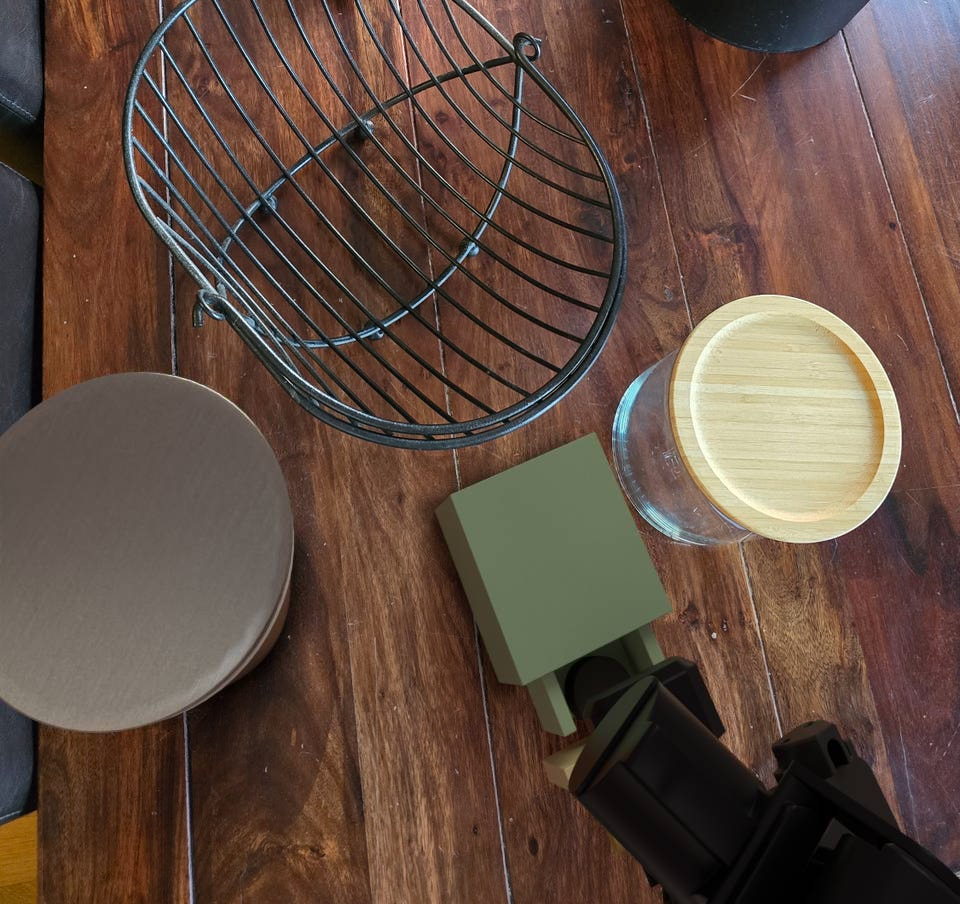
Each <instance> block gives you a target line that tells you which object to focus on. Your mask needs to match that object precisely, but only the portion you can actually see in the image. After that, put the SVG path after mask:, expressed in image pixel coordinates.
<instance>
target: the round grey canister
mask: <svg viewBox="0 0 960 904" xmlns="http://www.w3.org/2000/svg"><path fill="white" fill-rule="evenodd" d="M294 531H295V530H294V521H293V514H292V507H291V501H290V496H289V491H288V486H287V482H286V479H285V476H284V473H283V470H282V467H281V465H280V462H279V460H278V458H277V455H276V453H275V451H274V450H273V448H272V446H271V445H270V443H269V440H268V439H267V438H266V436H265V435H264V433H263V432H262V431H261V429H260V428H259V426H258V425H257V424H256V422H254V421H253V420H252V419H251V417H250V416H249V415H248V414H247V413H246V412H245V411H244V410H242V409H241V408H240V407H239V406H238V405H237V404H236V403H235V402H233V401H232V400H231V399H229V398H228V397H226V396H225V395H223V394H222V393H221V392H218V391H216V390H215V389H213V388H211V387H209V386H207V385H205V384H202V383H201V382H198V381H196V380H192V379H190V378H186V377H183V376H180V375H176V374H171V373H163V372H156V371H125V372H117V373H111V374H106V375H102V376H98V377H94V378H91V379H88V380H85V381H82V382H79V383H75V384H74V385H71V386H70V387H67V388H64V389H63V390H61V391H58V392H57V393H55V394H53V395H52V396H50V397H48V398H46V399H45V400H43V401H41V402H40V403H38V404H37V405H36V406H34V407H33V408H31V409H30V410H28V411H27V412H26V413H25V414H24V415H22V416H21V417H20V418H19V419H18V420H17V421H16V422H14V423H13V424H12V425H11V426H10V427H9V428H8V429H7V430H6V431H5V432H4V433H3V434H2V435H1V436H0V700H1V701H2V702H4V703H5V704H6V705H7V706H8V707H10V708H11V709H13V710H14V711H16V712H18V713H20V714H21V715H23V716H25V717H27V718H29V719H30V720H33V721H35V722H38V723H40V724H43V725H45V726H48V727H52V728H56V729H60V730H63V731H70V732H75V733H83V734H106V733H108V734H109V733H118V732H125V731H130V730H134V729H135V730H136V729H139V728H143V727H146V726H150V725H153V724H156V723H160V722H163V721H166V720H168V719H171V718H174V717H176V716H179V715H181V714H183V713H185V712H187V711H190V710H191V709H194V708H195V707H197V706H199V705H201V704H202V703H204V702H205V701H207V700H208V699H211V697H213V696H214V695H216V694H217V693H219V692H220V691H222V690H224V689H225V688H227V687H229V686H230V685H232V684H234V683H236V682H237V681H240V679H242V678H244V677H245V676H247V675H248V674H249V673H251V672H252V671H253V670H255V669H256V668H257V667H258V666H259V665H260V664H261V663H262V662H263V661H264V660H265V659H266V657H267V656H269V654H270V652H271V650H273V648H274V646H275V645H276V643H277V641H278V639H279V638H280V636H281V633H282V632H283V629H284V627H285V624H286V621H287V616H288V613H289V610H290V609H289V608H290V601H291V583H292V582H291V581H292V570H293V562H294V551H295V532H294Z"/></svg>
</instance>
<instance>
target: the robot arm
mask: <svg viewBox="0 0 960 904" xmlns="http://www.w3.org/2000/svg"><path fill="white" fill-rule="evenodd" d="M583 719H584V721H585V723H584V724H585V726H586V728H587V731H588V735H590V736H591V737H590V739H589V740H588V742H587V743H586V745H585V746H584V748H583V750H582V752H581V754H580V755H579V757H578V759H577V761H576V763H575V765H574V768H573V770H572V772H571V775H570V778H569V782H568V789H569V791H568V792H569V793H570V794H571V795H572V796H573V797H574V798H575V799H576V800H577V801H578V802H579V803H580V804H581V805H582V806H583V807H584V808H585V809H586V811H588V813H589V814H590V815H591V816H592V817H593V818H594V819H595V820H597V822H598V823H599V824H600V825H601V826H602V827H603V828H604V829H605V831H606V830H607V831H608V832H609V833H610V834H611V835H612V836H613V837H614V838H615V839H616V840H617V841H618V842H619V843H620V844H621V845H622V846H623V847H624V848H625V849H626V850H625V851H626V852H627V853H629V855H630V856H631V857H632V858H633V859H634V860H635V861H636V862H637V863H638V864H639V865H640V866H641V868H642V870H643V873H644V875H645V878H646V880H647V883H648V885H649V887H650V888H651V889H652V888H654V887H656V886H658V885H660V887H661V895H662V904H960V877H959V876H958V875H957V874H955V872H953V870H952V869H950V868H949V867H948V866H947V865H946V864H945V863H944V862H943V861H941V860H940V859H939V858H938V857H936V856H935V854H933V853H932V852H930V851H929V850H928V849H927V848H926V847H924V846H923V845H921V844H920V843H918V842H917V841H916V840H914V839H913V838H911V837H910V836H909V835H907V834H906V833H904V832H903V831H902V830H901V828H900V825H899V824H898V821H897V819H896V818H895V815H894V813H893V810H892V809H891V807H890V805H889V803H888V800H887V798H886V796H885V794H884V792H883V790H882V788H881V786H880V784H879V782H878V780H877V778H876V776H875V773H874V772H873V770H872V767H871V766H870V765H869V763H868V761H866V760H865V759H864V758H862V757H861V756H859V754H858V751H857V750H856V748H855V746H854V743H853V742H852V740H851V738H850V737H848V738H842V735H841V733H840V731H839V729H838V727H837V725H836V724H835V723H834V722H831V721H827V720H825V719H816V720H811V721H806V722H803V723H801V724H798V725H797V726H795V727H793V729H791V730H790V731H788V732H787V733H785V734H784V735H783V736H781V737H780V738H778V739H777V740H775V742H773V743H772V744H771V751H772V754H773V756H774V759H775V760H776V764H777V768H776V769H775V770H774V771H773V772H772V775H773V777H774V780H775V781H776V785H774V786H773V787H771V788H769V789H768V788H767V786H766V784H765V783H764V782H763V781H762V780H761V779H760V778H758V776H757V775H756V774H755V773H754V772H753V771H752V770H751V769H750V768H748V767H747V765H746V764H745V763H743V761H741V760H740V759H739V758H738V757H737V756H736V755H735V754H734V752H732V751H731V750H730V749H729V748H728V747H727V746H726V745H725V744H724V743H723V742H722V741H721V740H720V738H721V737H722V736H723V735H724V734H725V733H726V732H727V730H726V728H725V726H724V723H723V721H722V719H721V716H720V714H719V712H718V709H717V708H716V705H715V703H714V701H713V698H712V696H711V694H710V692H709V689H708V687H707V685H706V682H705V680H704V678H703V675H702V674H701V671H700V669H699V666H698V664H697V662H695V661H692V660H691V659H688V658H685V657H683V656H679V655H678V656H676V655H675V656H672V655H671V656H669V657H667V658H665V660H663V661H661V662H659V663H657V664H655V665H653V666H652V667H650V668H648V669H646V670H644V671H642V672H640V673H638V674H636V675H634V676H632V677H630V678H628V679H626V680H625V681H623V682H621V683H619V684H617V685H615V686H613V687H611V688H609V689H607V690H605V691H603V692H601V693H599V694H598V695H596V696H594V697H592V698H590V699H588V700H587V703H586V706H585V709H584V713H583ZM607 831H606V832H607Z"/></svg>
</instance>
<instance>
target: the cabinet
mask: <svg viewBox="0 0 960 904" xmlns="http://www.w3.org/2000/svg"><path fill="white" fill-rule="evenodd" d="M434 513H435V515H436V518H437V521H438V524H439V526H440V528H441V531H442V534H443V536H444V539H445V542H446V544H447V545H446V546H447V547H448V550H449V552H450V555H451V558H452V561H453V563H454V566H455V568H456V571H457V573H458V577H459V579H460V582H461V585H462V588H463V590H464V592H465V596H466V598H467V601H468V604H469V606H470V608H471V611H472V614H473V616H474V620H475V622H476V625H477V627H478V630H479V633H480V635H481V638H482V641H483V643H484V646H485V649H486V651H487V655H488V657H489V660H490V663H491V664H492V665H491V666H492V668H493V670H494V673H495V676H496V678H497V681H498V682H499V683H501V684H508V685H515V686H521V687H525V686H527V685H526V684H528V683H530V682H532V681H534V680H536V679H538V678H540V677H542V676H544V675H546V674H548V673H550V672H552V671H554V670H556V669H558V668H560V667H562V666H564V665H566V664H568V663H570V662H572V661H574V660H576V659H578V658H580V657H582V656H584V655H586V654H588V653H590V652H592V651H594V650H596V649H598V648H600V647H602V646H604V645H606V644H608V643H610V642H612V641H614V640H616V639H618V638H620V637H622V636H624V635H626V634H628V633H630V632H632V631H634V630H636V629H638V628H640V627H642V626H644V625H646V624H648V623H652V622H654V621H656V620H659V619H660V618H662V617H664V616H666V615H668V614H670V613H672V612H673V611H674V608H673V606H672V604H671V601H670V600H669V597H668V595H667V592H666V591H665V588H664V585H663V584H662V583H663V582H662V581H661V578H660V577H659V574H658V572H657V570H656V567H655V565H654V563H653V560H652V559H651V555H650V554H649V551H648V549H647V547H646V544H645V541H644V540H643V538H642V536H641V534H640V532H639V529H638V527H637V524H636V522H635V520H634V518H633V517H634V516H633V515H632V513H631V511H630V508H629V506H628V503H627V502H626V499H625V497H624V494H623V493H622V490H621V487H620V485H619V483H618V481H617V478H616V477H615V474H614V471H613V469H612V467H611V465H610V463H609V460H608V459H607V456H606V453H605V451H604V448H603V447H602V445H601V443H600V440H599V438H598V436H597V433H596V432H595V431H593V432H591V433H589V434H586V435H584V436H582V437H579V438H577V439H575V440H573V441H569V442H568V443H565V444H563V445H561V446H559V447H556V448H555V449H552V450H549V451H547V452H545V453H542V454H541V455H538V456H536V457H534V458H531V459H528V460H527V461H524V462H522V463H519V464H517V465H515V466H512V467H511V468H508V469H506V470H504V471H502V472H499V473H497V474H494V475H492V476H490V477H488V478H486V479H483V480H481V481H478V482H476V483H474V484H472V485H469V486H467V487H464V488H463V489H460V490H458V491H456V492H453V493H451V494H449V495H448V496H447V498H445V499H444V500H443V502H441V504H439V505H438V506H437V507H436V509H435V510H434Z"/></svg>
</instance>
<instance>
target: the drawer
mask: <svg viewBox="0 0 960 904" xmlns="http://www.w3.org/2000/svg"><path fill="white" fill-rule="evenodd" d="M650 623H651V622H650ZM650 623H648V624H646V625H644V626H642V627H640V628H638V629H636V630H634V631H632V632H630V633H628V634H626V635H624V636H622V637H620V638H618V639H616V640H614V641H612V642H610V643H608V644H606V645H604V646H602V647H600V648H598V649H596V650H594V651H592V652H590V653H588V654H586V655H584V656H582V657H580V658H578V659H576V660H574V661H572V662H570V663H568V664H566V665H564V666H562V667H560V668H558V669H556V670H554V671H552V672H550V673H548V674H546V675H544V676H542V677H540V678H538V679H536V680H534V681H532V682H530V683H528V684H526V685H525V686H526V688H527V691H528V693H529V695H530V699H531V701H532V704H533V706H534V709H535V711H536V714H537V716H538V720H539V722H540V724H541V727H542V730H543V731H544V732H547V733H551V734H554V735H557V736H561V737H564V738H566V737H567V736H570V735H572V734H573V733H576V732H577V727H576V724H575V722H574V719H575V718H576V717H575V716H574V714H573V713H572V712H571V710H570V709H569V707H568V705H567V702H566V698H565V692H564V686H565V680H566V676H567V674H568V672H569V670H570V668H571V667H572V666H573V665H574V664H575V663H576V662H577V661H578V660H580V659H582V658H584V657H588V656H606V657H610V658H613V659H615V660H617V661H618V662H619V663H621V664H622V665H623V666H624V667H625V669H626V670H627V672H628V673H629V675H630V677H632V676H634V675H636V674H638V673H640V672H642V671H644V670H646V669H648V668H650V667H652V666H653V665H655V664H657V663H659V662H661V661H663V660H665V659H666V658H665V655H664V654H663V651H662V649H661V647H660V644H659V642H658V640H657V637H656V634H655V633H654V630H653V628H652V626H651V624H650ZM590 737H591V736H590V734H588V735H587V736H584V737H582V738H580V739H579V740H577V741H574V742H573V743H571V744H569V745H567V746H565V747H564V748H561V749H560V750H558V751H556V752H553V753H552V754H550V755H548V756H547V757H545V758H543V759H541V763H542V766H543V769H544V771H545V774H546V777H547V779H548V782H550V783H552V784H554V785H556V786H558V787H560V788H562V789H564V790H566V791H567V792H570V791H569V789H568V782H569V778H570V775H571V772H572V770H573V768H574V765H575V763H576V761H577V759H578V757H579V755H580V754H581V752H582V750H583V748H584V746H585V745H586V743H587V742H588V740H589V739H590ZM605 831H606V835H607V838H608V840H609V842H610V844H611V847H612V848H613V851H614V852H615V853H616V854H621V853H623V852H624V851H627V850H626V849H625V848H624V847H623V846H622V845H621V844H620V843H619V842H618V841H617V840H616V839H615V838H614V837H613V836H612V835H611V834H610V833H609V832H608V831H607V830H606V829H605Z"/></svg>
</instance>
